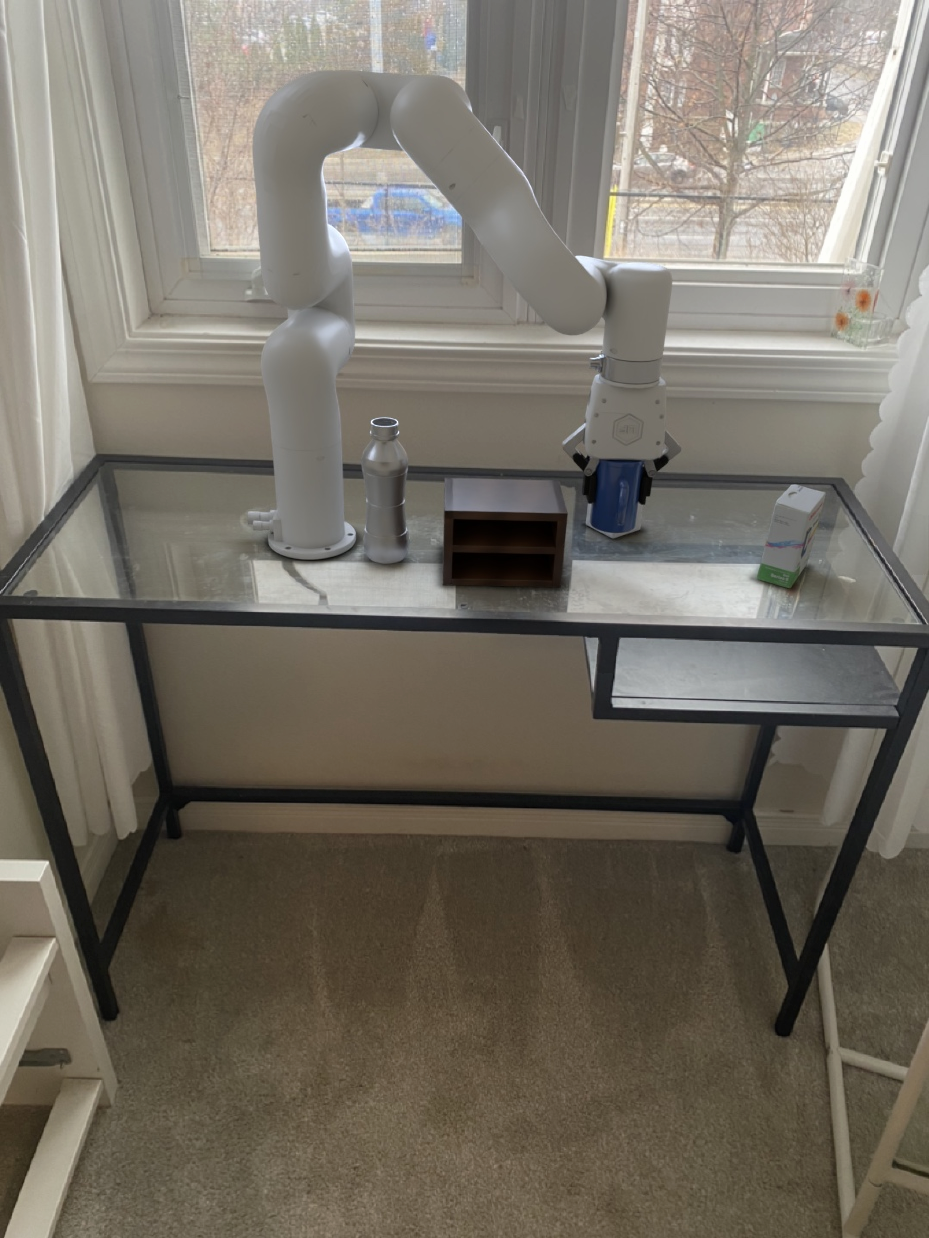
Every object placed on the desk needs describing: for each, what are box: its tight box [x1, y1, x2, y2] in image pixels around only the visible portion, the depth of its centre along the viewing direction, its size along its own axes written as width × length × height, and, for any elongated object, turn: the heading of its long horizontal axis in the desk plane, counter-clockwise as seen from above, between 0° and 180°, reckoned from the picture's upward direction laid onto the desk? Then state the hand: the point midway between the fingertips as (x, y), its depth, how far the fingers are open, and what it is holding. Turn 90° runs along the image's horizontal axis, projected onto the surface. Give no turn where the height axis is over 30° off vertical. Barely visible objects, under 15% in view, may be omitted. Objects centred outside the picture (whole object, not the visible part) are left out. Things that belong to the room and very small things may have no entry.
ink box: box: [756, 483, 827, 589], centre depth 133 cm, size 9×5×12 cm, turn 148°
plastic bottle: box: [360, 417, 410, 565], centre depth 131 cm, size 6×7×20 cm
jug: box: [590, 459, 645, 533], centre depth 128 cm, size 7×10×10 cm, turn 1°
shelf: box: [442, 477, 569, 588], centre depth 132 cm, size 16×11×11 cm
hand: (615, 499), depth 130 cm, fingers closed on jug, 6 cm apart
